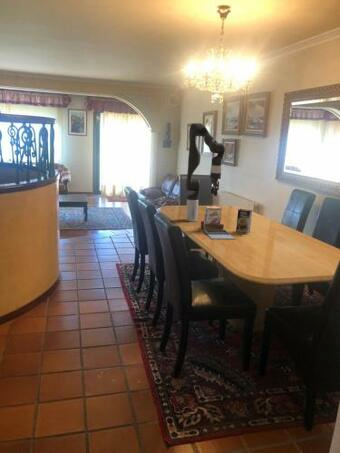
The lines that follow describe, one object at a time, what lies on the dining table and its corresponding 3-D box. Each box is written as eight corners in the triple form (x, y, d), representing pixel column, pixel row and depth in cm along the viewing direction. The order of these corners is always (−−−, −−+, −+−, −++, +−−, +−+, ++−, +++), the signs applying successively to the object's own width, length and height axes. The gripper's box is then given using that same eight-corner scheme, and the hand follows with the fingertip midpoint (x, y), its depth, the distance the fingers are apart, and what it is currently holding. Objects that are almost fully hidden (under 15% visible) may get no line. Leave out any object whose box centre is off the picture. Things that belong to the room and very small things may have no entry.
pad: (207, 235, 252) (207, 234, 252) (230, 235, 255) (230, 234, 255) (211, 239, 243) (211, 238, 242) (235, 239, 246) (235, 238, 245)
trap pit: (203, 231, 263) (203, 229, 262) (224, 231, 266) (225, 229, 265) (207, 235, 253) (207, 232, 253) (229, 235, 256) (229, 232, 256)
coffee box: (235, 231, 268) (237, 209, 264) (238, 229, 274) (240, 208, 270) (247, 233, 264) (250, 211, 260) (250, 231, 269) (252, 209, 266)
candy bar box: (205, 230, 267) (206, 207, 263) (203, 228, 272) (204, 206, 268) (220, 230, 269) (221, 208, 265) (217, 228, 274) (219, 206, 270)
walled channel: (200, 227, 274) (200, 221, 273) (218, 227, 277) (219, 221, 276) (204, 231, 264) (204, 224, 263) (223, 231, 266) (223, 224, 265)
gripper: (208, 170, 266) (206, 193, 270) (212, 172, 253) (211, 196, 257) (218, 171, 267) (216, 193, 271) (223, 173, 254) (221, 196, 258)
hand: (213, 194), depth 264 cm, fingers open, 8 cm apart
